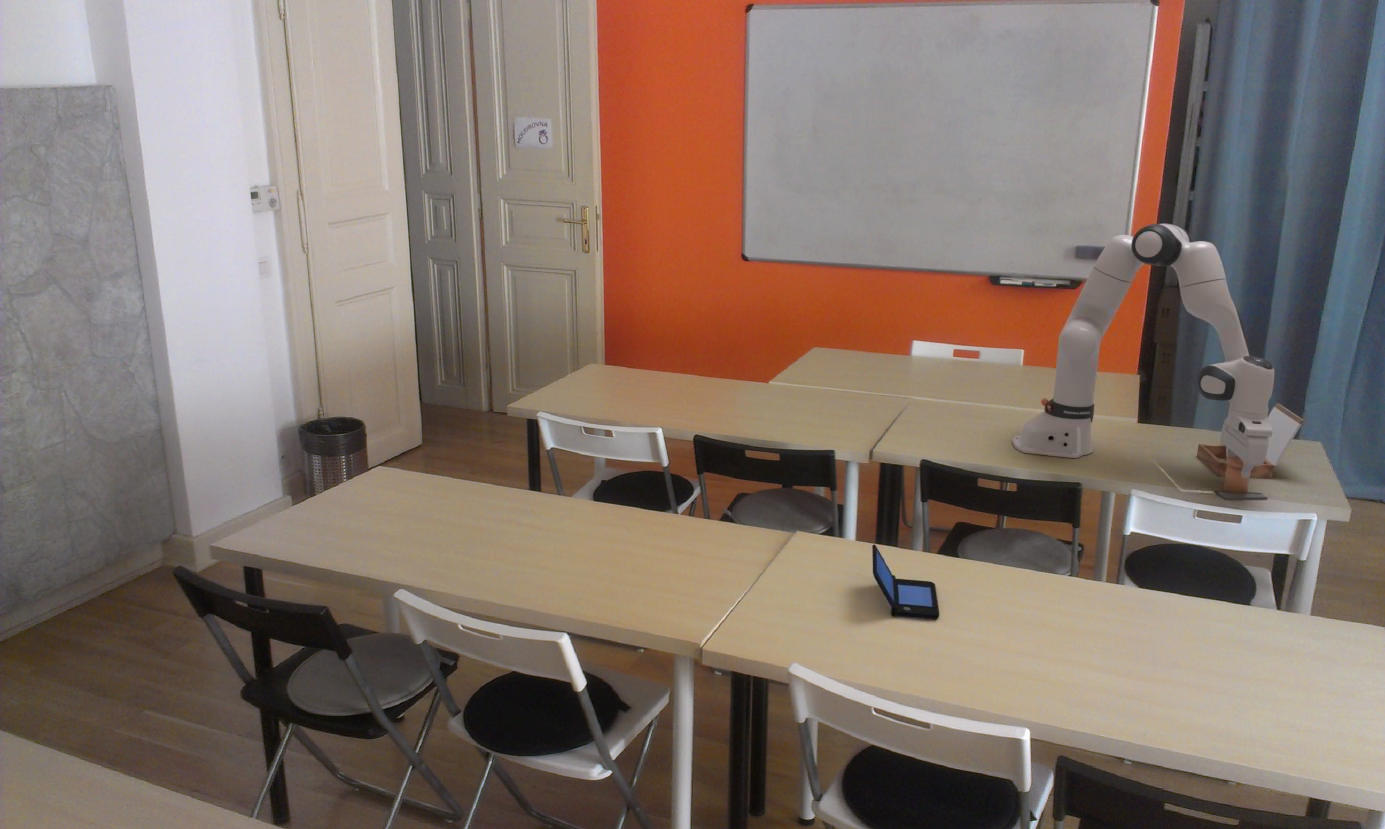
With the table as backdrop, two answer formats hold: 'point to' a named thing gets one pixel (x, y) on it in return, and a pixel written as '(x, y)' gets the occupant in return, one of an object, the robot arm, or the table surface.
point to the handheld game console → (905, 592)
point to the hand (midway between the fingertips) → (1237, 470)
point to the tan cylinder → (1235, 476)
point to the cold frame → (1217, 459)
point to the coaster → (1241, 496)
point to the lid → (1281, 432)
